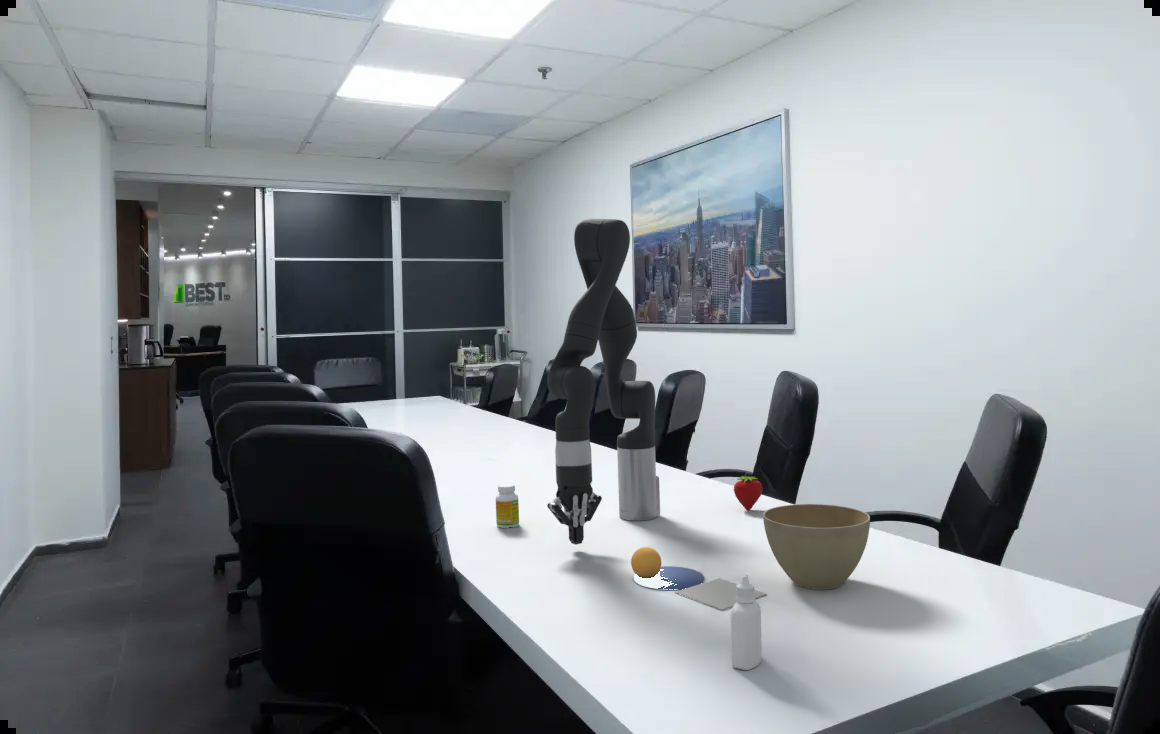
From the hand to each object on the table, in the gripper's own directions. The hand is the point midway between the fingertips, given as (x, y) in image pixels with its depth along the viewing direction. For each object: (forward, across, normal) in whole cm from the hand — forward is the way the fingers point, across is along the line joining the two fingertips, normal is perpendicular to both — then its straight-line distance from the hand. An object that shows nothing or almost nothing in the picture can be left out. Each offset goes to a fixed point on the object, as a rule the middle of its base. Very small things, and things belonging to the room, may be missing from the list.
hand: (576, 543), depth 160 cm
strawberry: (+2, -52, +1) cm, 52 cm away
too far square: (+2, -3, +38) cm, 38 cm away
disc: (+2, -2, +26) cm, 26 cm away
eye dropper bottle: (+2, +14, +59) cm, 61 cm away
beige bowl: (+2, -20, +45) cm, 49 cm away
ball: (-1, +1, +23) cm, 23 cm away
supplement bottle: (+2, 0, -28) cm, 28 cm away
